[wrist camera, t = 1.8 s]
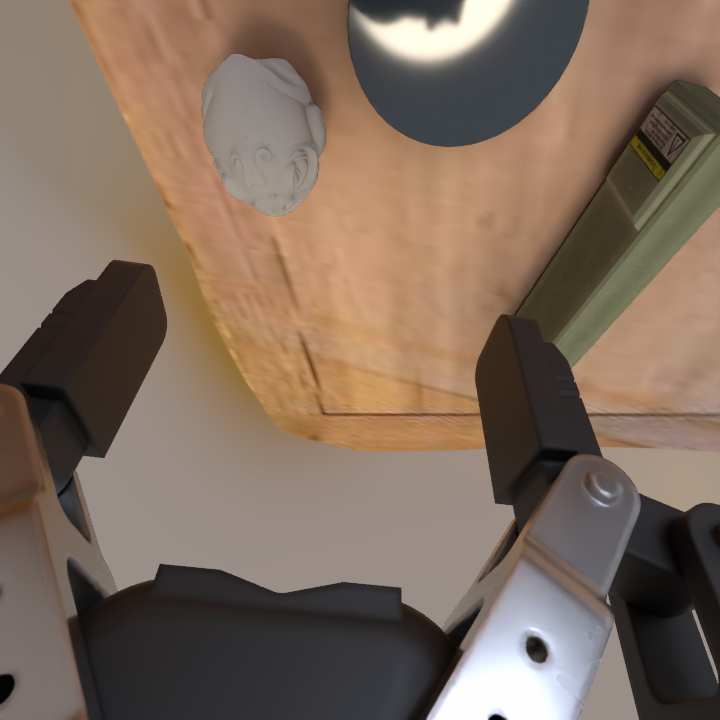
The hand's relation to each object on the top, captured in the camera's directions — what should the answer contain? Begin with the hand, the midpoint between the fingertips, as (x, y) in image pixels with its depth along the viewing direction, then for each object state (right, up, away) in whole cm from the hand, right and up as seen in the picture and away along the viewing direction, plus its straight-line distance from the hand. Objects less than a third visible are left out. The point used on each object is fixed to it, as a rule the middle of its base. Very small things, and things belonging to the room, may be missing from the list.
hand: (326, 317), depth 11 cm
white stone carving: (-4, +13, +14) cm, 20 cm away
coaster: (+6, +15, +11) cm, 19 cm away
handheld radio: (+15, +5, +21) cm, 26 cm away
